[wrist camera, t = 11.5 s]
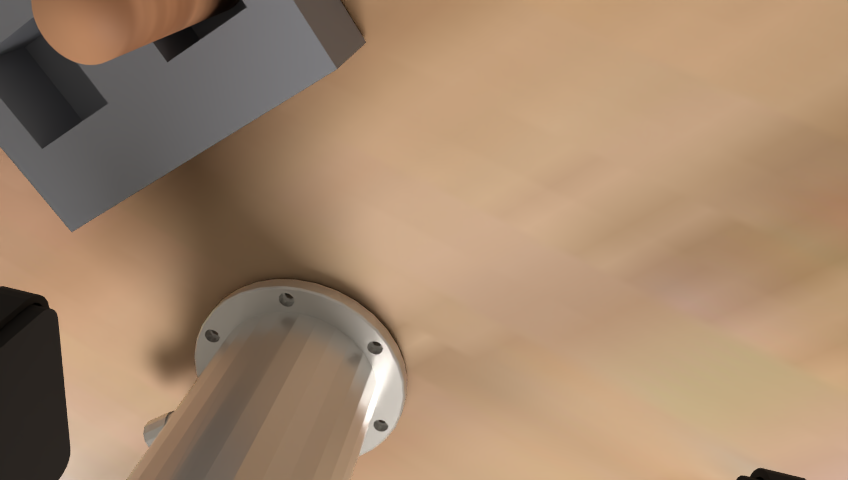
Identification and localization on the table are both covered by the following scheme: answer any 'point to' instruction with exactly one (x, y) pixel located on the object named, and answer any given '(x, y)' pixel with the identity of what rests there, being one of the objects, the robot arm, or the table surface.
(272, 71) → the bore block
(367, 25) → the table surface
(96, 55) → the dowel
